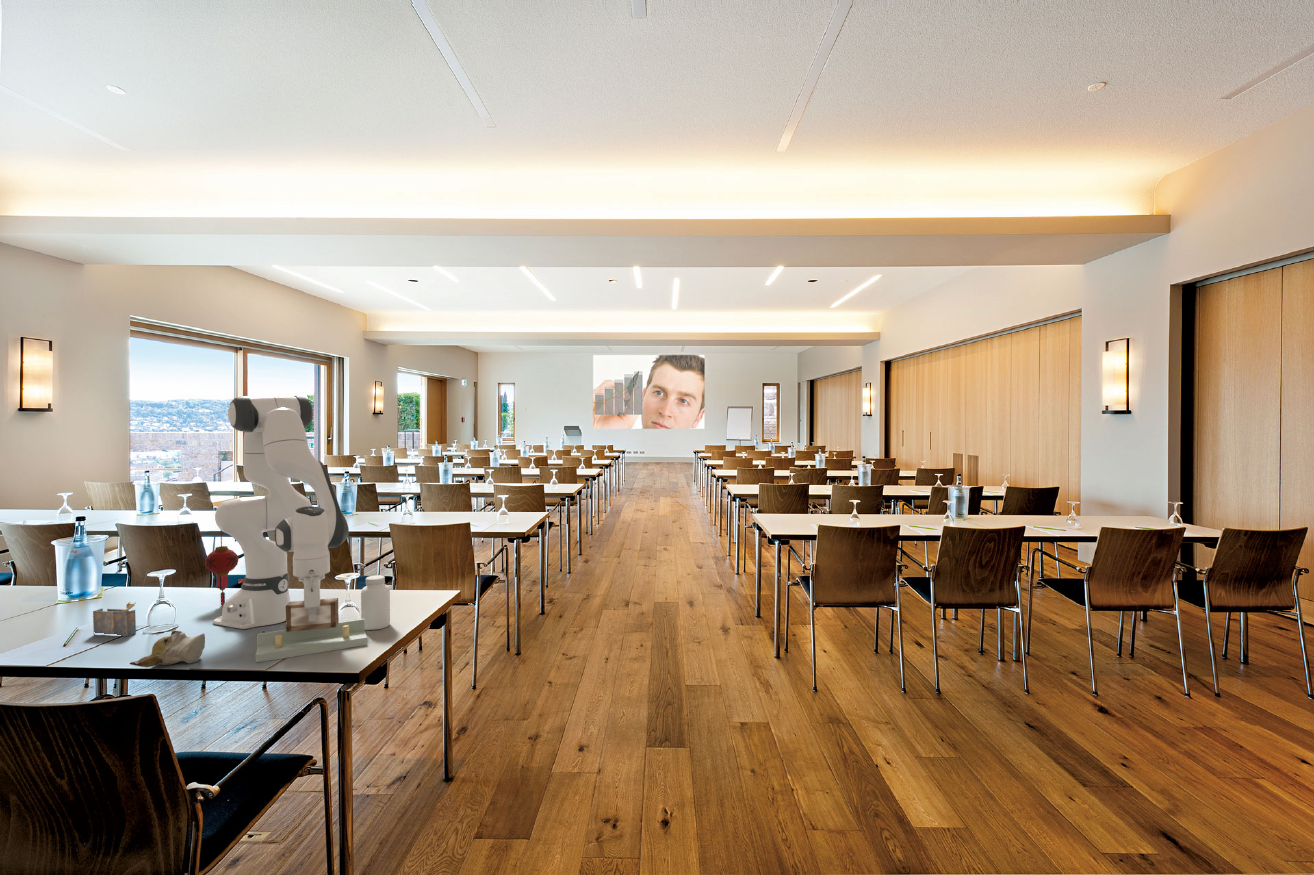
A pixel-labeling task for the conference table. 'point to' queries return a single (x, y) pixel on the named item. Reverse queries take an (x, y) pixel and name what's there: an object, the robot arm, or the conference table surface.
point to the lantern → (221, 566)
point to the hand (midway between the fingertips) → (312, 617)
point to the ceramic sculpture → (174, 650)
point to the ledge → (310, 640)
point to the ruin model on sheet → (115, 621)
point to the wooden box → (300, 618)
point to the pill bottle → (375, 603)
